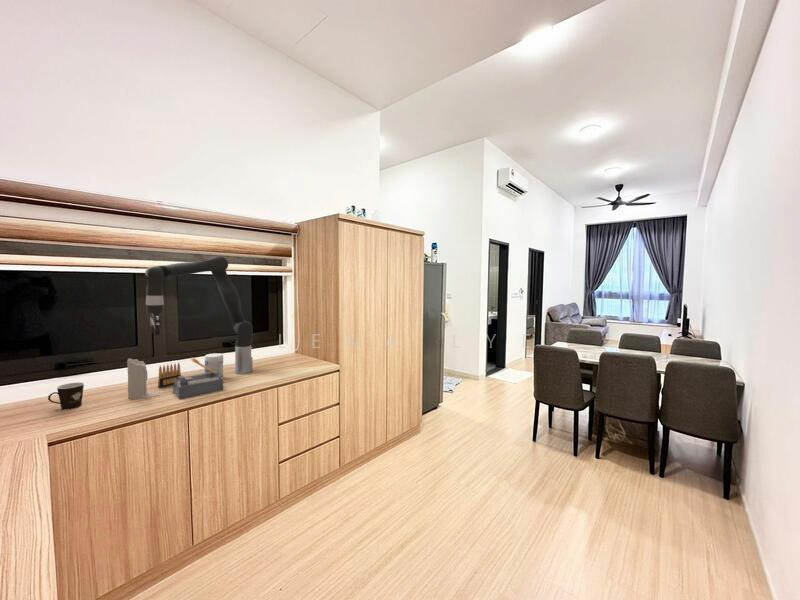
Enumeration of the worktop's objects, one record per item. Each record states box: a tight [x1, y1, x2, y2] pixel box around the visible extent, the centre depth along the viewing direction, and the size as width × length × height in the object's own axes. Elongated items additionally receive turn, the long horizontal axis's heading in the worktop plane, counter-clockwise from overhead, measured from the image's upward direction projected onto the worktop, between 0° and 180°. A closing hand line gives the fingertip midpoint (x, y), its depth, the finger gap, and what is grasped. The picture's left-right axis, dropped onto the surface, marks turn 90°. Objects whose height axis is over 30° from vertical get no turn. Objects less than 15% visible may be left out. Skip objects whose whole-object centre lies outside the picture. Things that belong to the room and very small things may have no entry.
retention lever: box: [190, 357, 216, 374], centre depth 174 cm, size 14×4×2 cm
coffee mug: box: [47, 381, 85, 411], centre depth 147 cm, size 12×9×10 cm
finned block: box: [172, 370, 224, 400], centre depth 173 cm, size 20×14×9 cm
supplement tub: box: [204, 352, 224, 379], centre depth 192 cm, size 10×10×15 cm
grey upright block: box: [126, 358, 163, 400], centre depth 164 cm, size 7×14×20 cm, turn 119°
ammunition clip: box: [157, 362, 182, 389], centre depth 180 cm, size 11×2×12 cm, turn 145°
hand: (155, 334), depth 174 cm, fingers open, 8 cm apart
